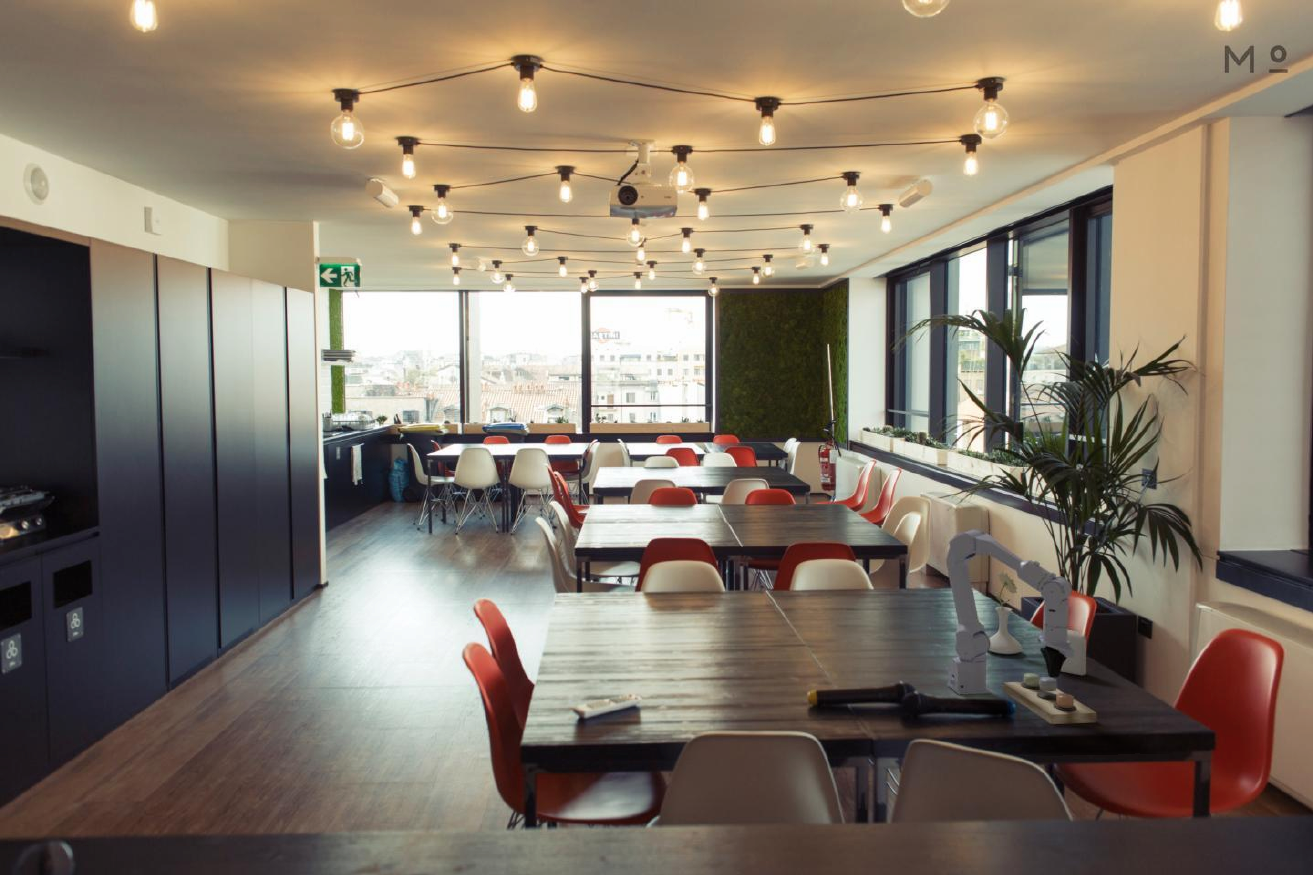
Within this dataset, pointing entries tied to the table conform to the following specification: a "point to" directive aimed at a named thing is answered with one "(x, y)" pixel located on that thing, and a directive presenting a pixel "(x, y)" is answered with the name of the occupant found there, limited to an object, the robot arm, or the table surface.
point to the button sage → (1031, 679)
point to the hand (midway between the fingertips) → (1053, 676)
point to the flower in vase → (1004, 623)
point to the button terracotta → (1065, 700)
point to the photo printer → (1076, 654)
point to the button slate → (1047, 684)
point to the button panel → (1048, 704)
